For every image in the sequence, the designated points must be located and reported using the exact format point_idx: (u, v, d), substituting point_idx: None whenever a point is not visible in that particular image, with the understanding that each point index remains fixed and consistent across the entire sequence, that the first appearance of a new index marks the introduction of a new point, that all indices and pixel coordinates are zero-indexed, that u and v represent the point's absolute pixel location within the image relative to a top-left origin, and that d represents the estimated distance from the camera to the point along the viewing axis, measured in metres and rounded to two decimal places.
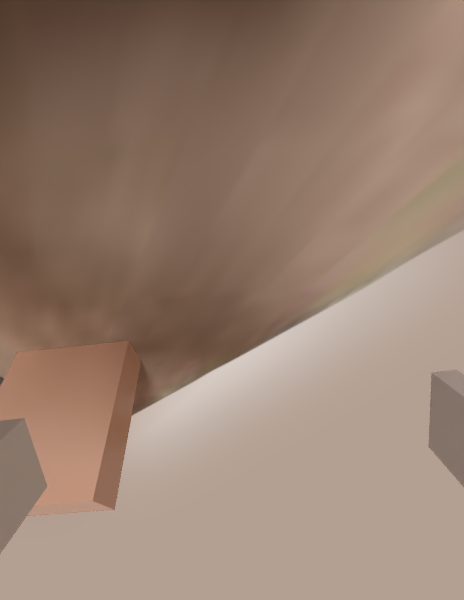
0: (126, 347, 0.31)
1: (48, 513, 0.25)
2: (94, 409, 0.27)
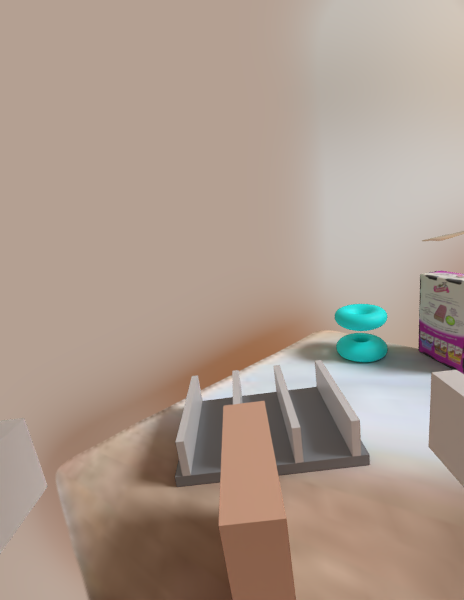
0: None
1: (228, 456, 0.23)
2: None
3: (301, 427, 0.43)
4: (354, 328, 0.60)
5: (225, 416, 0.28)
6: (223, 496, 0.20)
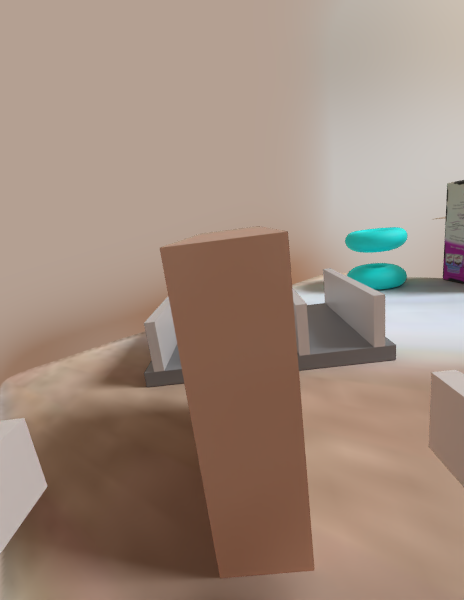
0: None
1: (197, 237, 0.15)
2: None
3: None
4: (368, 247, 0.51)
5: (201, 234, 0.19)
6: (178, 242, 0.11)
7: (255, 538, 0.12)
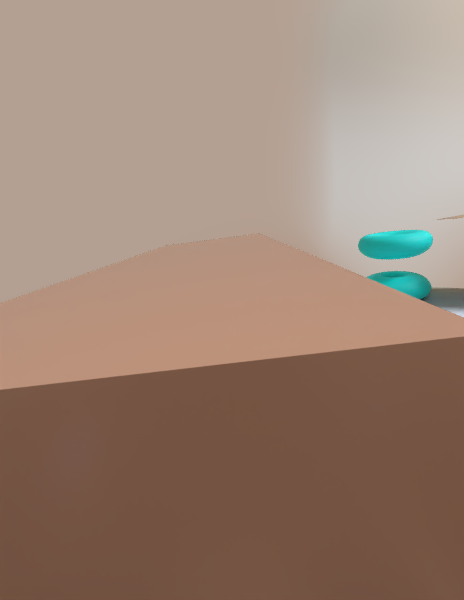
0: None
1: (125, 264, 0.07)
2: None
3: None
4: (387, 253, 0.43)
5: (163, 247, 0.11)
6: None
7: None
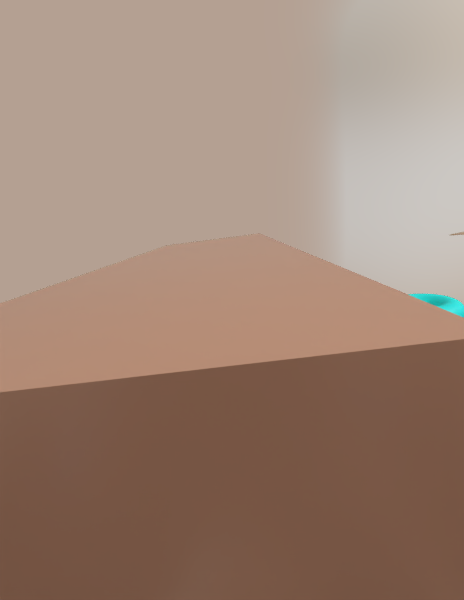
0: None
1: (125, 264, 0.07)
2: None
3: None
4: None
5: (163, 248, 0.11)
6: None
7: None
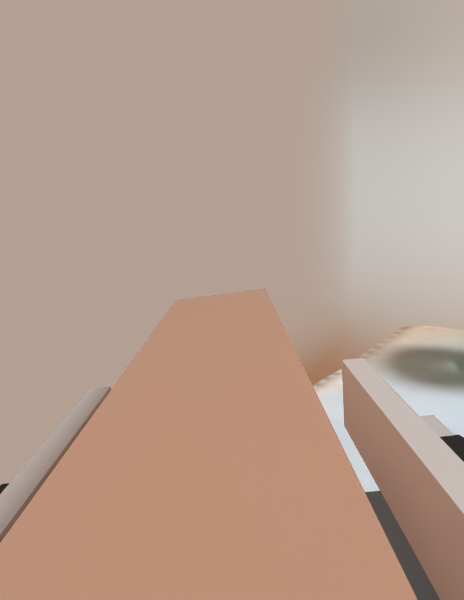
0: None
1: (147, 367, 0.07)
2: None
3: None
4: None
5: (174, 310, 0.12)
6: (53, 493, 0.04)
7: None
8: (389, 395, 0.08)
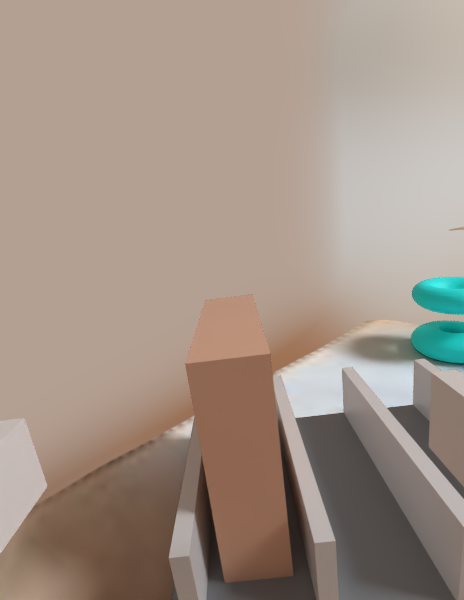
0: None
1: (205, 324, 0.19)
2: None
3: None
4: (453, 310, 0.38)
5: (206, 305, 0.24)
6: (195, 346, 0.16)
7: (250, 553, 0.17)
8: None
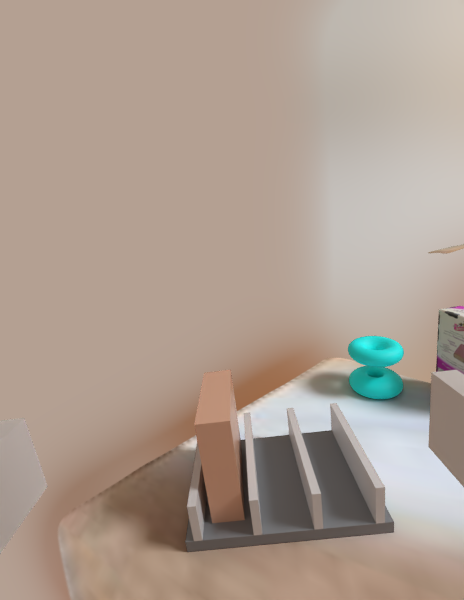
0: (243, 514, 0.37)
1: (203, 397, 0.39)
2: (237, 460, 0.37)
3: (318, 482, 0.41)
4: (369, 364, 0.57)
5: (204, 378, 0.44)
6: (198, 413, 0.36)
7: (224, 508, 0.37)
8: None
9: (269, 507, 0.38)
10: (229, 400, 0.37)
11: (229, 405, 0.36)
